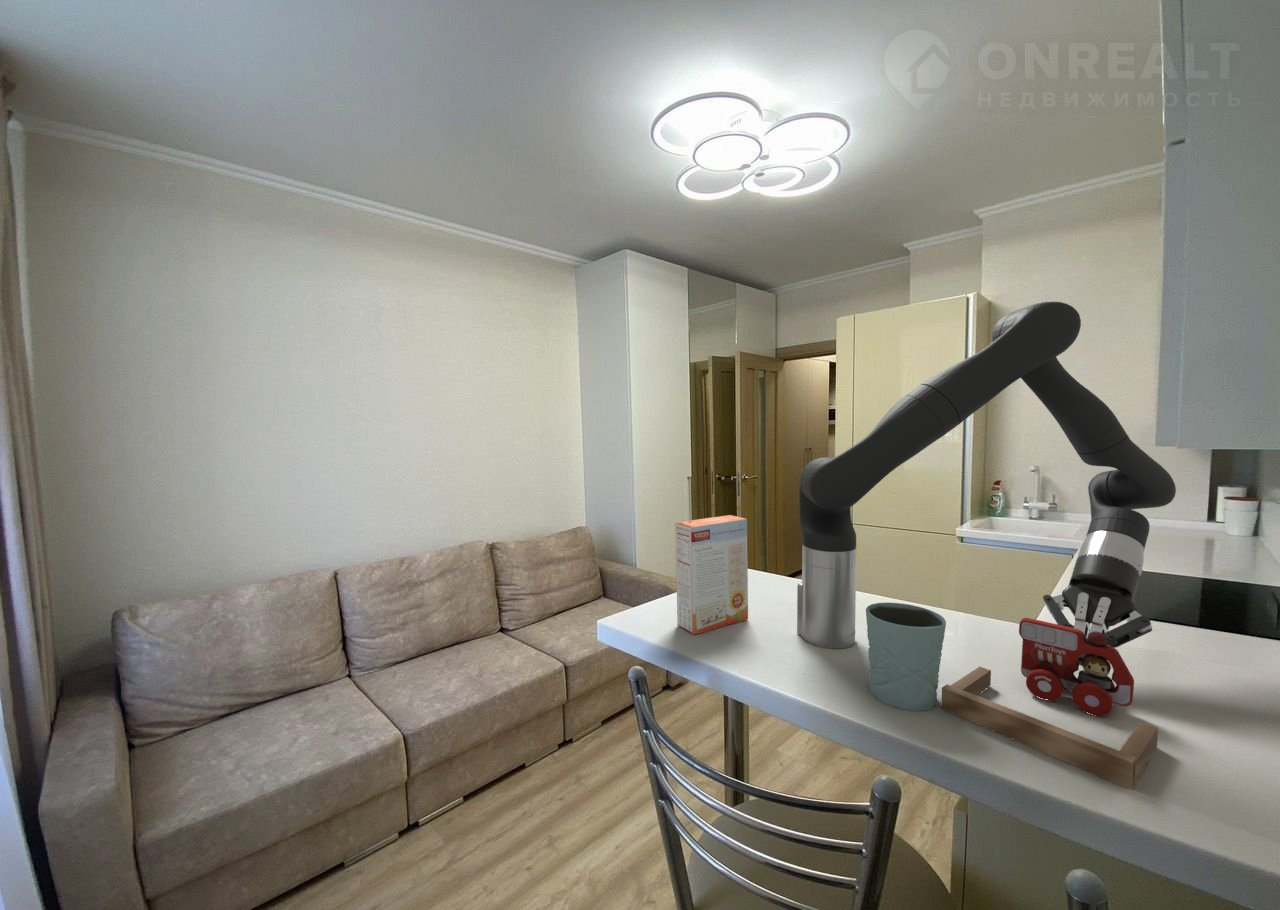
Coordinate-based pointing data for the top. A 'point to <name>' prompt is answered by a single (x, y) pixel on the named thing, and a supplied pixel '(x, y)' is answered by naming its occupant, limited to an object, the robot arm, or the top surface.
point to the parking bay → (1051, 733)
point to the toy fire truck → (1073, 666)
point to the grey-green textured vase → (904, 654)
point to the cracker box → (711, 572)
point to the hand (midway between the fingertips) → (1080, 663)
